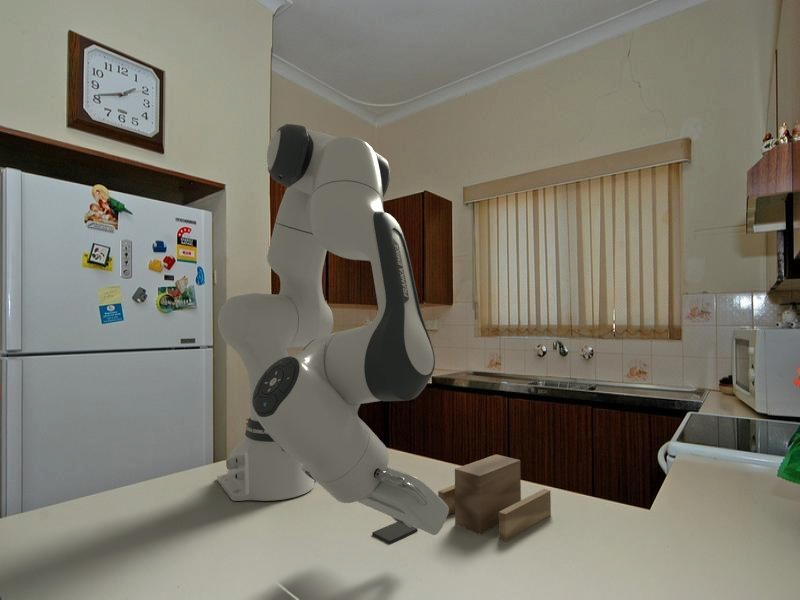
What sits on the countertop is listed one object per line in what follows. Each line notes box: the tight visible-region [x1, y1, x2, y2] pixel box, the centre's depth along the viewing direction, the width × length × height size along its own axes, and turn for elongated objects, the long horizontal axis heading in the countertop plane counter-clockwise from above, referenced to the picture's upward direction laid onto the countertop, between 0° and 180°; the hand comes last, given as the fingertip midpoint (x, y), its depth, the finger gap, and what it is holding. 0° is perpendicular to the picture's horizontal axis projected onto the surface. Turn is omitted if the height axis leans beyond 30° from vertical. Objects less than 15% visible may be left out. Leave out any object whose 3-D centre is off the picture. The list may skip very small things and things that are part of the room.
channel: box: [437, 484, 552, 542], centre depth 78 cm, size 13×14×4 cm
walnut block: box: [454, 453, 522, 535], centre depth 77 cm, size 5×12×9 cm, turn 134°
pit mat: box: [371, 521, 419, 545], centre depth 71 cm, size 4×6×1 cm, turn 134°
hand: (407, 519), depth 64 cm, fingers closed
